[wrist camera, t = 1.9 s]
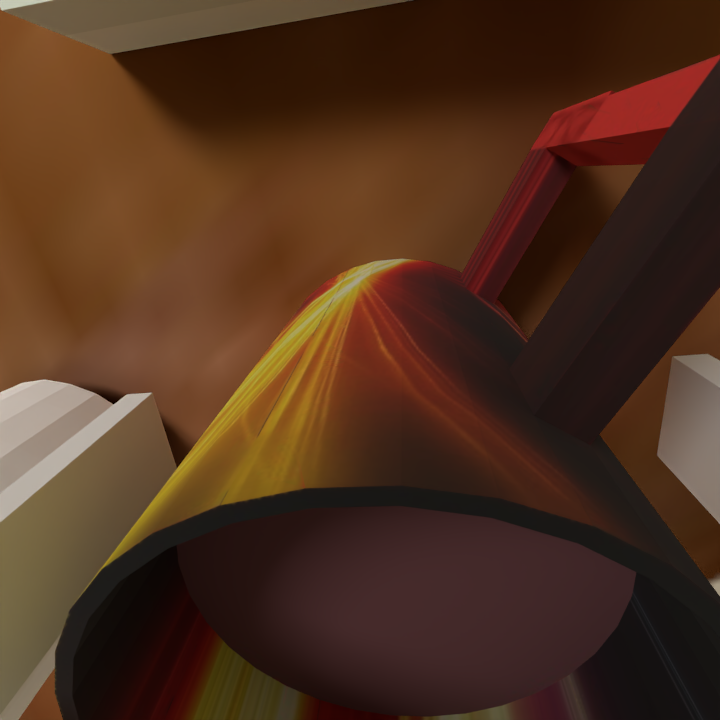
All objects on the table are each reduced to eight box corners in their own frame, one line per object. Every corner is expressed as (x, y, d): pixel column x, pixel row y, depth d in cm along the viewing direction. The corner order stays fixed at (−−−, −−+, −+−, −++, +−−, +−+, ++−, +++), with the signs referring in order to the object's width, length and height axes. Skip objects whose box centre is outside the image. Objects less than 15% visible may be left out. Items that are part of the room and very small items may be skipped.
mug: (569, 117, 13) (1419, -159, 2) (511, 489, 19) (669, 950, 8) (253, 123, 14) (-293, -49, 3) (286, 478, 19) (135, 879, 8)
